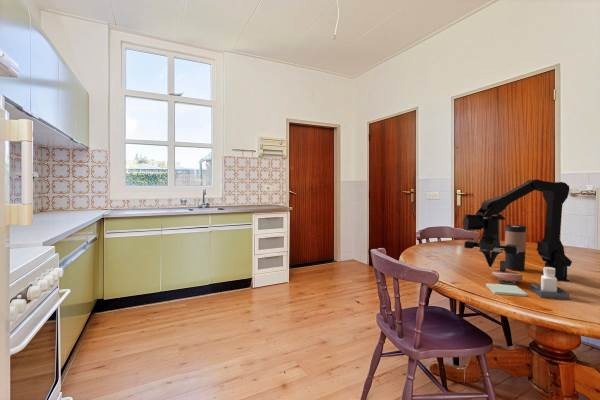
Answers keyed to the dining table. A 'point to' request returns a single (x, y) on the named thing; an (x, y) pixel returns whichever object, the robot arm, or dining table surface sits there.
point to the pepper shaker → (549, 280)
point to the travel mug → (516, 237)
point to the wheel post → (506, 282)
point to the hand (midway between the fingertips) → (490, 266)
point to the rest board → (506, 289)
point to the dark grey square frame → (549, 292)
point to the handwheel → (506, 273)
